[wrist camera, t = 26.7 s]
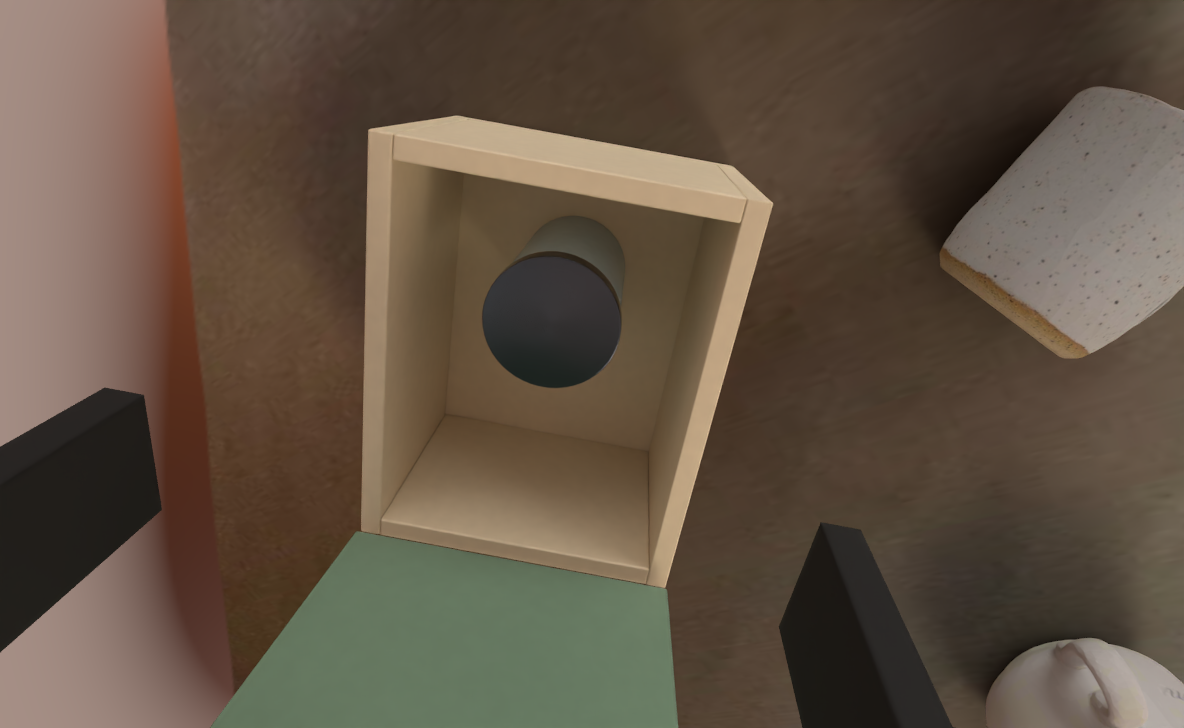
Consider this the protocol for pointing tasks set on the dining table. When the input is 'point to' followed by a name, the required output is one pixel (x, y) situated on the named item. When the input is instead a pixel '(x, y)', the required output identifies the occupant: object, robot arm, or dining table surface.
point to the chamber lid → (462, 647)
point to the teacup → (1085, 689)
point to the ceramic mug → (1082, 224)
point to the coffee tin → (558, 304)
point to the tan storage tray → (522, 410)
